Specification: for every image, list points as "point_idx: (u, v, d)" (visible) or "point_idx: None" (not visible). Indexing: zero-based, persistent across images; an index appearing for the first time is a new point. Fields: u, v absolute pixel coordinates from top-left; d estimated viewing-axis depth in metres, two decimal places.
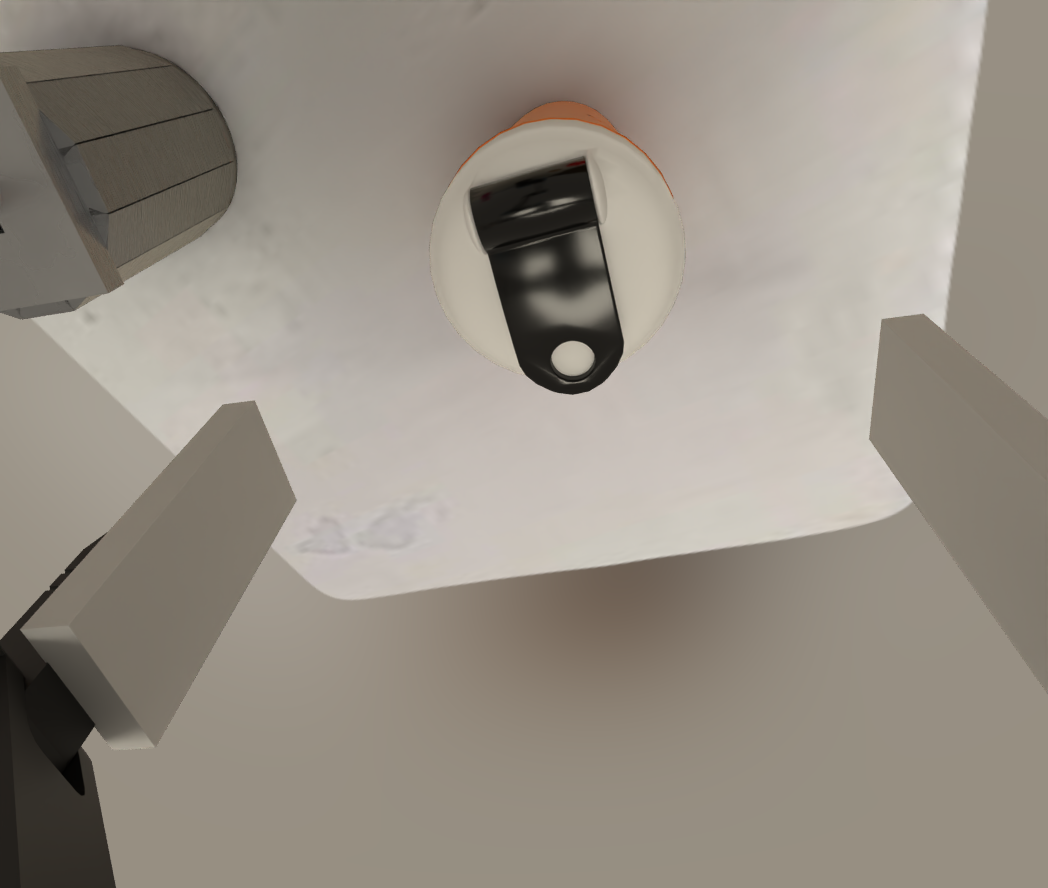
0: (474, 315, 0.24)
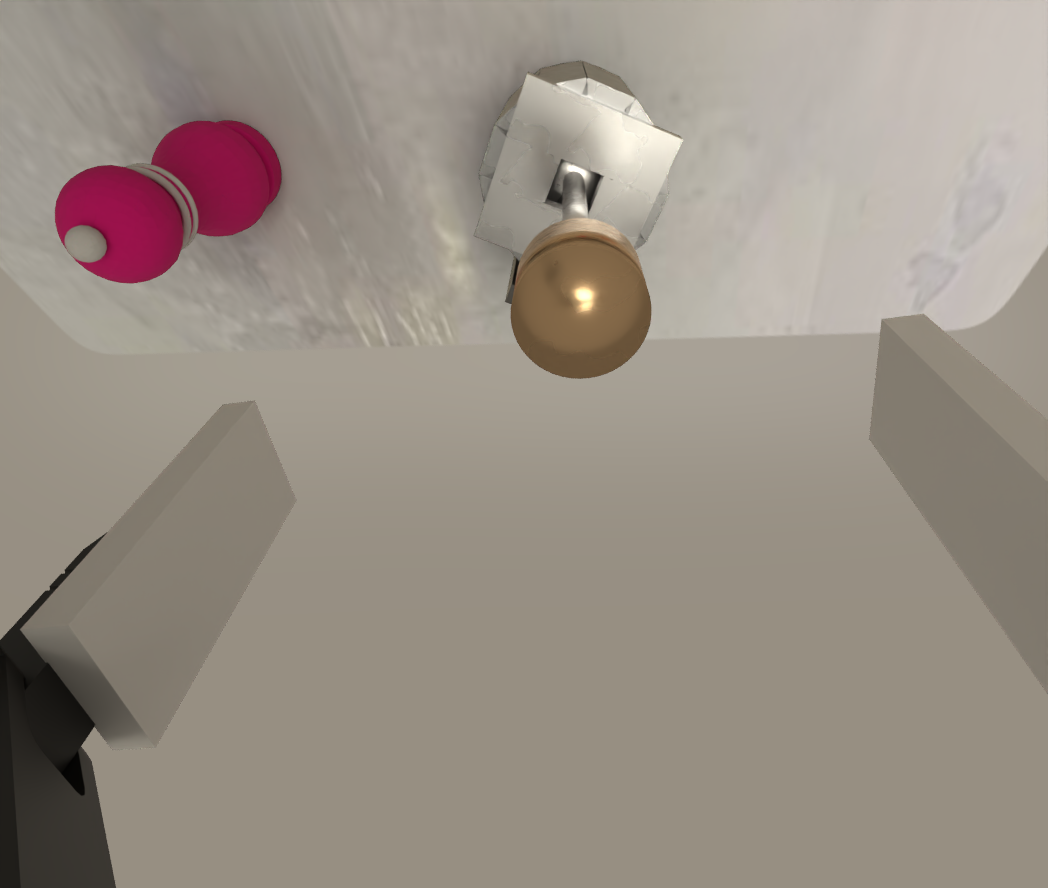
0: None
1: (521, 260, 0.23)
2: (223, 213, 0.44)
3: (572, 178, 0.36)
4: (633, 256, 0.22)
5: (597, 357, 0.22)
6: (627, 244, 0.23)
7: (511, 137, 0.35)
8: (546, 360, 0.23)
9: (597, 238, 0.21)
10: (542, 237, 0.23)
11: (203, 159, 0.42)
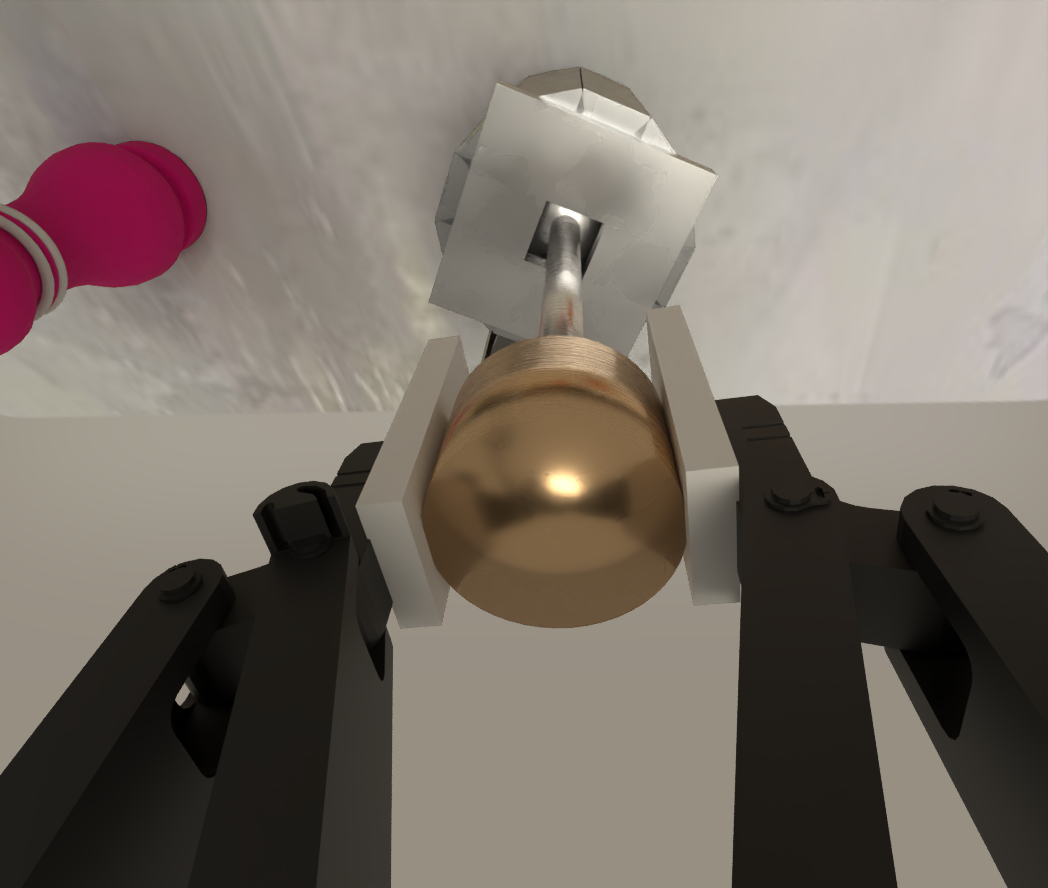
0: None
1: (454, 407, 0.13)
2: (115, 261, 0.34)
3: (562, 227, 0.26)
4: (653, 417, 0.12)
5: (586, 598, 0.12)
6: (642, 388, 0.13)
7: (476, 171, 0.25)
8: (493, 599, 0.12)
9: (584, 393, 0.11)
10: (488, 374, 0.13)
11: (84, 193, 0.33)
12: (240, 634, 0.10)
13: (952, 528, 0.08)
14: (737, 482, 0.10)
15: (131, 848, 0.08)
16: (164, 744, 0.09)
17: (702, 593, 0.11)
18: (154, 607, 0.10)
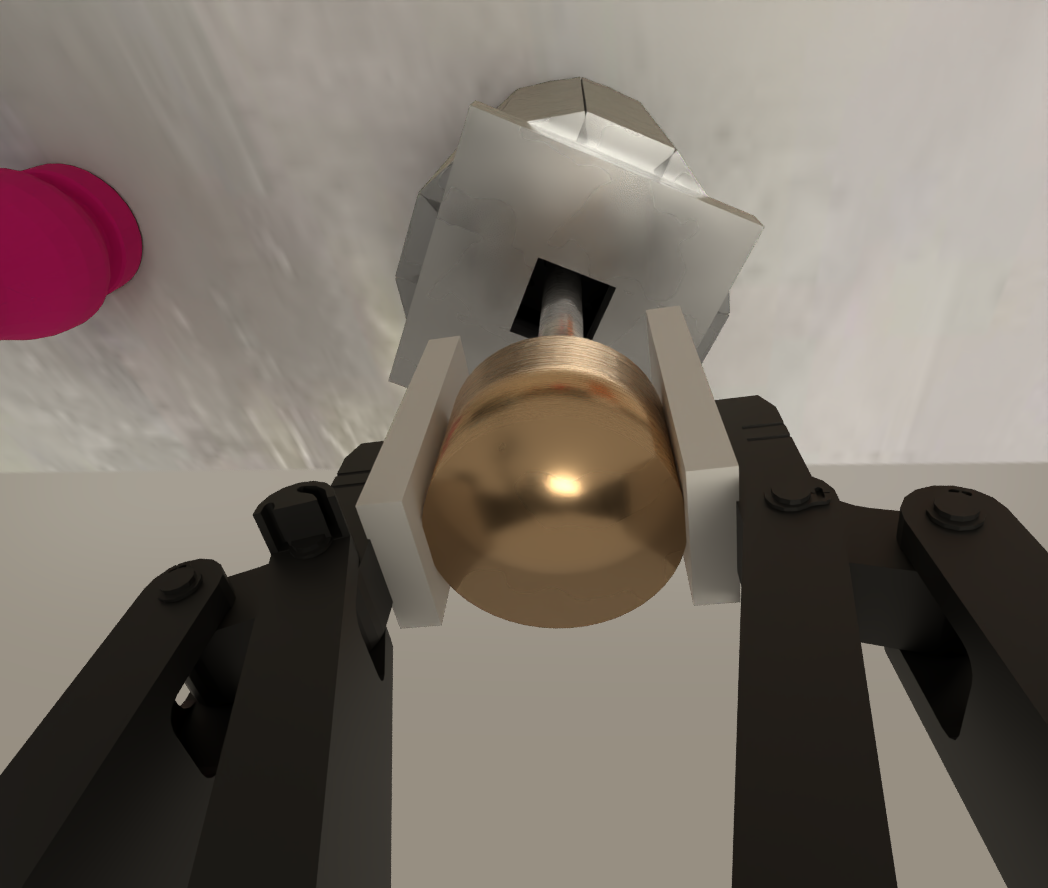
0: None
1: (454, 408, 0.13)
2: (16, 314, 0.28)
3: None
4: (653, 417, 0.12)
5: (586, 598, 0.12)
6: (642, 388, 0.13)
7: (445, 220, 0.19)
8: (493, 599, 0.12)
9: (585, 394, 0.11)
10: (488, 374, 0.13)
11: None
12: (240, 634, 0.10)
13: (952, 528, 0.08)
14: (737, 482, 0.10)
15: (131, 848, 0.08)
16: (164, 744, 0.09)
17: (702, 593, 0.11)
18: (154, 607, 0.10)
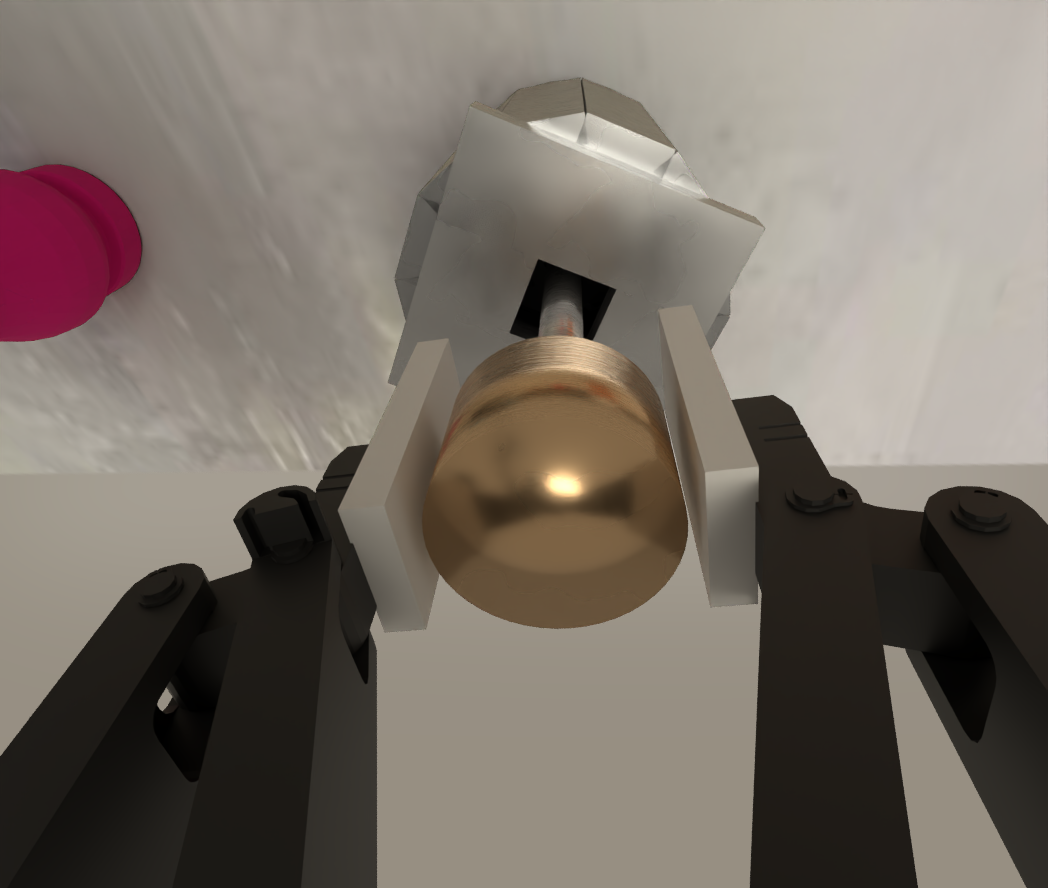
0: None
1: (454, 408, 0.13)
2: (15, 315, 0.28)
3: None
4: (653, 417, 0.12)
5: (586, 599, 0.12)
6: (642, 388, 0.13)
7: (445, 222, 0.19)
8: (493, 600, 0.12)
9: (584, 394, 0.11)
10: (488, 374, 0.13)
11: None
12: (222, 638, 0.10)
13: (977, 529, 0.08)
14: (757, 483, 0.10)
15: (114, 853, 0.08)
16: (146, 748, 0.09)
17: (719, 595, 0.11)
18: (135, 612, 0.10)
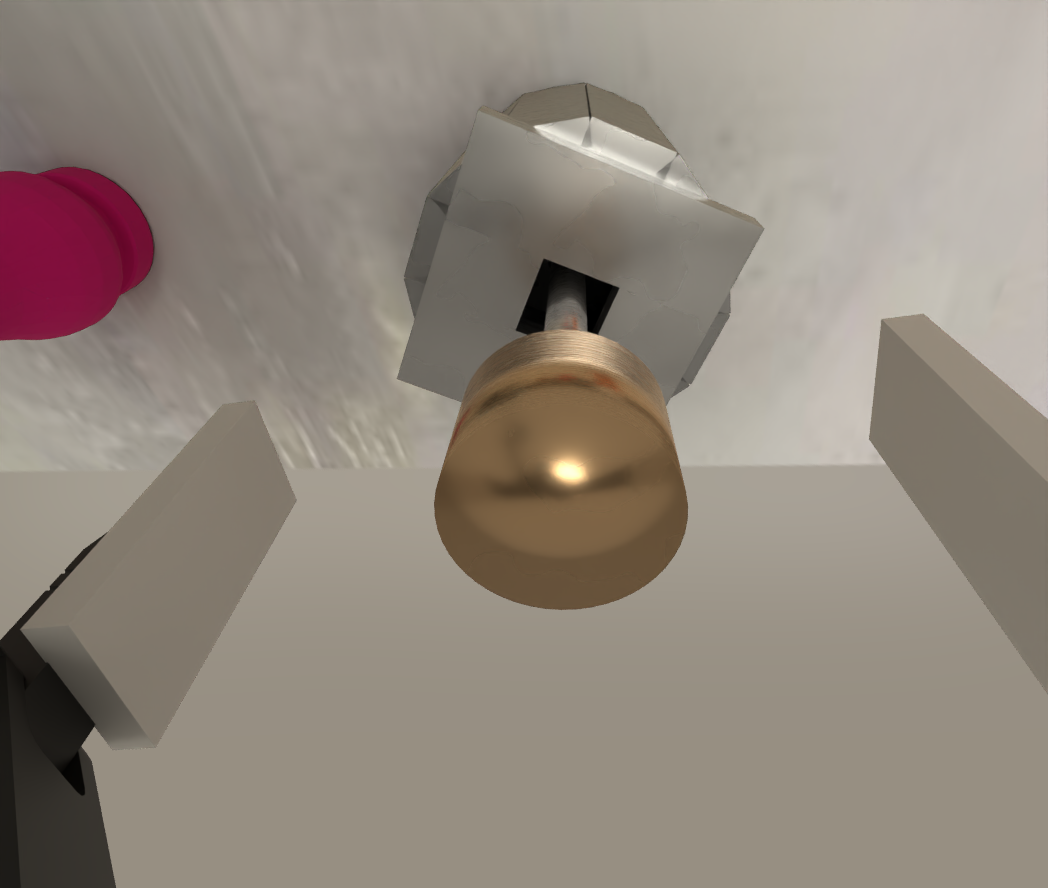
0: None
1: (464, 399, 0.14)
2: (32, 314, 0.29)
3: None
4: (655, 407, 0.12)
5: (590, 580, 0.13)
6: (644, 379, 0.13)
7: (453, 222, 0.20)
8: (501, 581, 0.13)
9: (590, 383, 0.12)
10: (497, 366, 0.13)
11: None
12: None
13: None
14: None
15: None
16: None
17: None
18: None
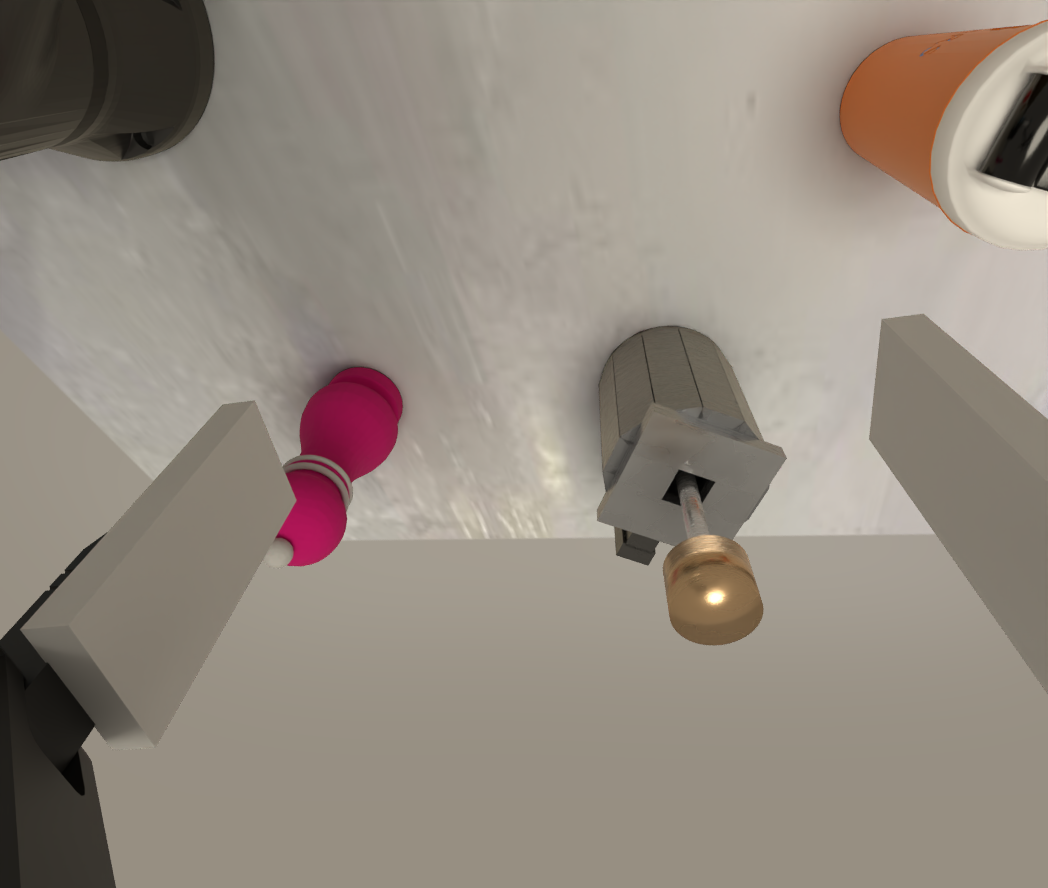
0: None
1: (670, 561, 0.35)
2: (364, 469, 0.50)
3: None
4: (749, 570, 0.34)
5: (725, 634, 0.34)
6: (743, 556, 0.34)
7: (636, 454, 0.41)
8: (690, 635, 0.34)
9: (727, 566, 0.33)
10: (686, 552, 0.34)
11: (350, 429, 0.49)
12: None
13: None
14: None
15: None
16: None
17: None
18: None
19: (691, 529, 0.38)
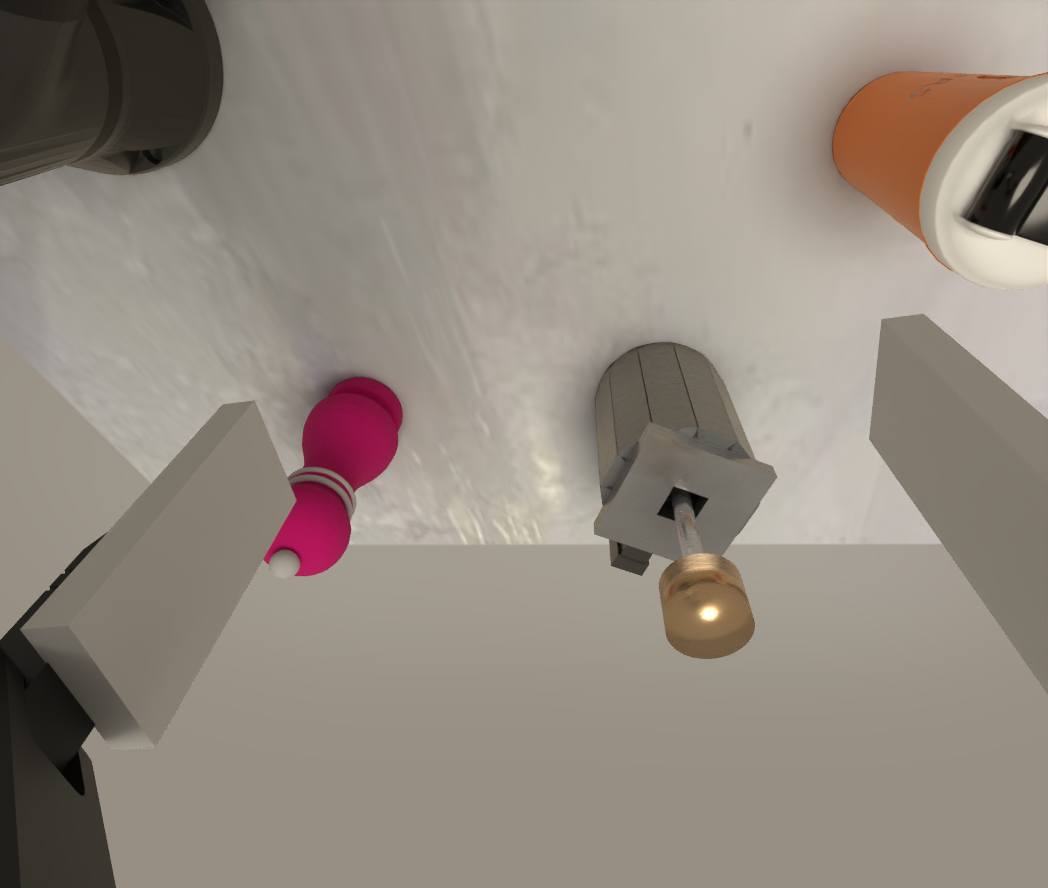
0: (1029, 270, 0.30)
1: (666, 578, 0.37)
2: (366, 479, 0.51)
3: None
4: (741, 588, 0.35)
5: (717, 649, 0.35)
6: (736, 574, 0.36)
7: (633, 471, 0.42)
8: (684, 649, 0.36)
9: (721, 584, 0.34)
10: (682, 570, 0.36)
11: (353, 440, 0.50)
12: None
13: None
14: None
15: None
16: None
17: None
18: None
19: (686, 545, 0.40)
